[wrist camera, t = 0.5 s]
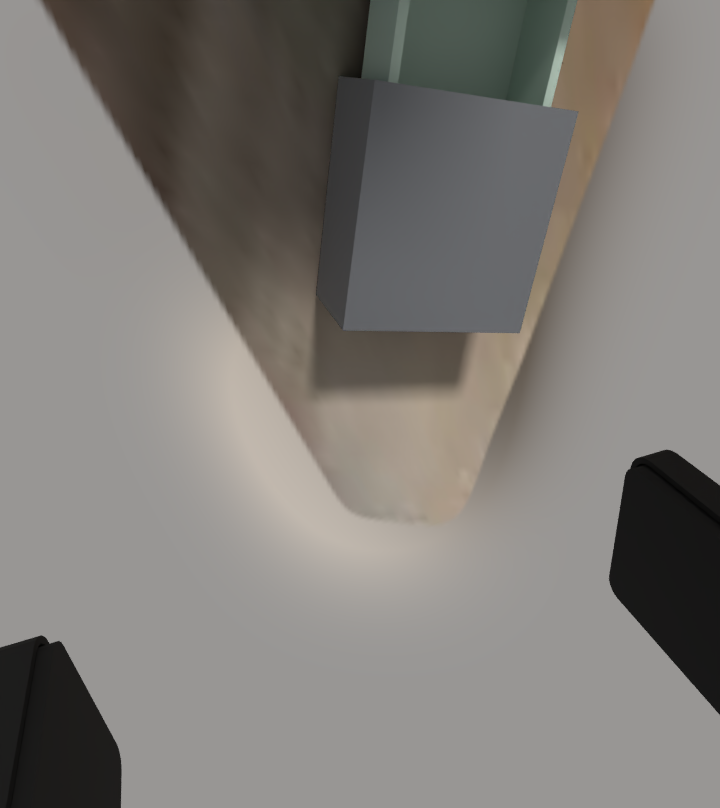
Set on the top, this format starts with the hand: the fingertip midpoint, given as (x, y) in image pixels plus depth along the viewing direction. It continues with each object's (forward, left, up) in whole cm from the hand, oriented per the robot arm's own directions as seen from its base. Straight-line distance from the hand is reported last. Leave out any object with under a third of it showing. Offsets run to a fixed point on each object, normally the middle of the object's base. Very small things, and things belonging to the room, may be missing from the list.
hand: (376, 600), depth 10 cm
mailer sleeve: (-2, +12, -29) cm, 31 cm away
